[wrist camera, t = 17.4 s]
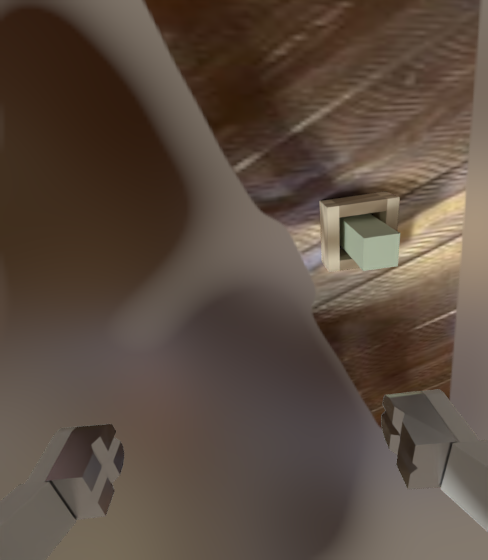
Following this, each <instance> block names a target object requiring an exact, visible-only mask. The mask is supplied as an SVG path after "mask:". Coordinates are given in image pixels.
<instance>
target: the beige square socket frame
mask: <svg viewBox="0 0 488 560" xmlns="http://www.w3.org/2000/svg"><path fill="white" fill-rule="evenodd" d="M399 201H400V197H398V196H396V195H394V194H391V193H389V192H386V191H385V192H378V193H371V194H364V195H357V196H351V197H344V198H337V199H330V200H323V201H320V224H321V252H322V262H323V264H324V265H325V267H326V269H327V270H328V272H334V271H341V270H349V269H356V268H360V267H359V266H358V265H357V263H356V262H355V261H354V260H353V259H352V258H351V257H350V255H349V254H348V253H347V252H346V251H345V250H344V249H340V245H339V218H340V217H347V216H354V215H361V214H368V213H374V217H376V218H377V219H379V220H380V221H382V222H384V223H385V224H387V225H388V226H390V227H391V228H393V229H394V230H396V231H397V227H398V214H399Z"/></svg>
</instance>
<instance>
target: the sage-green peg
mask: <svg viewBox="0 0 488 560" xmlns="http://www.w3.org/2000/svg"><path fill="white" fill-rule="evenodd" d="M399 243H400V233H399V232H397V231H396V230H394V229H393V228H391V227H390V226H388V225H387V224H385V223H384V222H382V221H380V220H379V219H377V218H376V217H374V216H373V215H371V214H370V213H368V214H361V215H354V216H347V217H340V218H339V244H340V245H341V246H342V247H343V249H344V250H345V251H346V252H347V253H348V254H349V255H350V257H351V258H352V259H353V260H354V261H355V262H356V263H357V265H358V266H359V267H360V268H361V269H362V270H363V271H365V270H372V269H380V268H387V267H395V266H398V255H399Z"/></svg>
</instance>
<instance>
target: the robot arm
mask: <svg viewBox="0 0 488 560" xmlns="http://www.w3.org/2000/svg"><path fill="white" fill-rule="evenodd" d="M383 406H384V408H385V410H386V411H385V412H384V413H383V414H382V416H381V425H382V431H383V435H384V438H385V441H386V443H387V445H388V448H389V449H390V450H391V451H392V452H393V453H395V454H396V455H397V463H396V465H397V467H398V469H399V471H400V474H401V476H402V478H403V480H404V482H405V484H406V487H407V489H420V488H438V487H441V490H442V491H443V492H444V493H445V494H446V495H448V496H449V497H450V498H451V499H452V500H453V501H454V502H455V503H456V504H457V505H459V506H460V507H461V508H462V509H463V510H464V511H465V512H466V513H467V514H469V515H470V516H471V517H472V518H473V519H474V520H475V521H476V522H477V523H479V524H480V525H481V526H482V527H483V528H484V529H485V530H486V531H487V532H488V441H487V440H480V439H479V438H478V437H477V436H476V434H475V433H474V432H473V430H472V429H471V428H470V426H469V425H468V424H467V422H466V421H465V420H464V419H463V417H462V416H461V415H460V413H459V412H458V411H457V410H456V408H455V407H454V406H453V405H452V403H451V402H450V400H449V399H448V398H447V396H446V395H445V394H444V393H443V392H442V391H441V390H439V389H437V390H427V391H415V392H406V393H398V394H389V395H385V396H384V398H383ZM115 433H116V430H115V429H114V427H113V425H112V424H106V425H92V426H79V427H69V428H61V429H60V430H58V431H57V432H56V433H55V434H54V436H53V438H52V439H51V441H50V443H49V444H48V446H47V448H46V450H45V451H44V453H43V454H42V456H41V458H40V460H39V461H38V463H37V465H36V466H35V468H34V469H33V471H32V473H31V475H30V476H29V478H28V480H27V481H26V483H25V484H20V485H18V486H17V487H16V488H15V489H14V490H13V491H11V492H10V493H9V494H8V495H7V496H6V497H4V498H3V499H2V500H1V501H0V560H46V559H47V558H48V556H49V555H50V554H51V553H52V551H53V550H54V549H55V548H56V546H57V545H58V544H59V543H60V542H61V540H62V539H63V538H64V536H65V535H66V534H67V533H68V532H69V530H70V529H71V528H72V527H73V525H74V524H75V523H76V520H78V519H86V518H95V517H102V516H106V514H107V511H108V508H109V506H110V503H111V500H112V497H113V494H114V488H113V485H112V483H113V482H114V480H116V479H117V478H118V476H119V475H120V473H121V470H122V467H123V461H124V450H123V445H122V443H121V441H119V440H118V439H116V438H115V437H114V435H115Z"/></svg>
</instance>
